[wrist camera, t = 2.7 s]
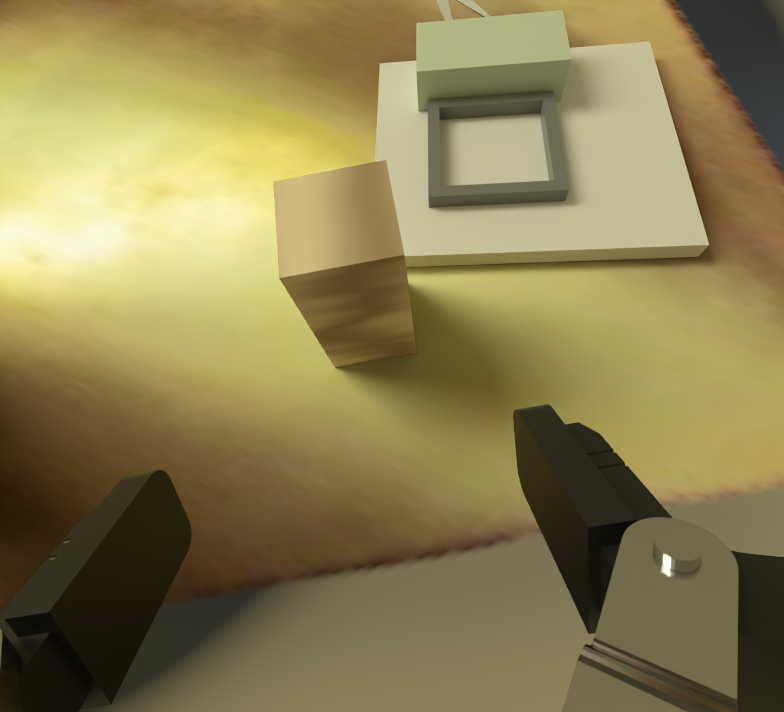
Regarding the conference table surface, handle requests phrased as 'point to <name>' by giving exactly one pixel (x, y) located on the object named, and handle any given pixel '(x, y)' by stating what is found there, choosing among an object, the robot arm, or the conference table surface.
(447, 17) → the scissors
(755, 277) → the conference table surface
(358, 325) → the maple block
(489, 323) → the conference table surface
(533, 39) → the pale green block
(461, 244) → the board
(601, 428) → the conference table surface
